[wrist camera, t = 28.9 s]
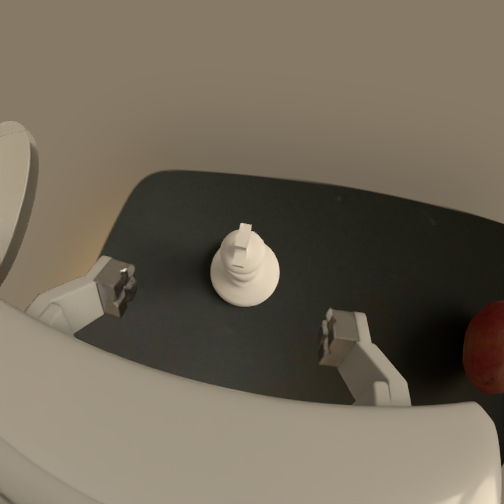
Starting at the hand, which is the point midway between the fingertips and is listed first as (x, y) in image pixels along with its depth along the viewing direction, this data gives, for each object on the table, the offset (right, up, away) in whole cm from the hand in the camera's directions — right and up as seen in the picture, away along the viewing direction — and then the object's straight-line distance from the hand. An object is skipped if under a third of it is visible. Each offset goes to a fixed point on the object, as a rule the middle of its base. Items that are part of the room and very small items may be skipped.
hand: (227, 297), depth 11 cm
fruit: (+22, -7, +8) cm, 24 cm away
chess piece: (0, 0, +9) cm, 9 cm away
